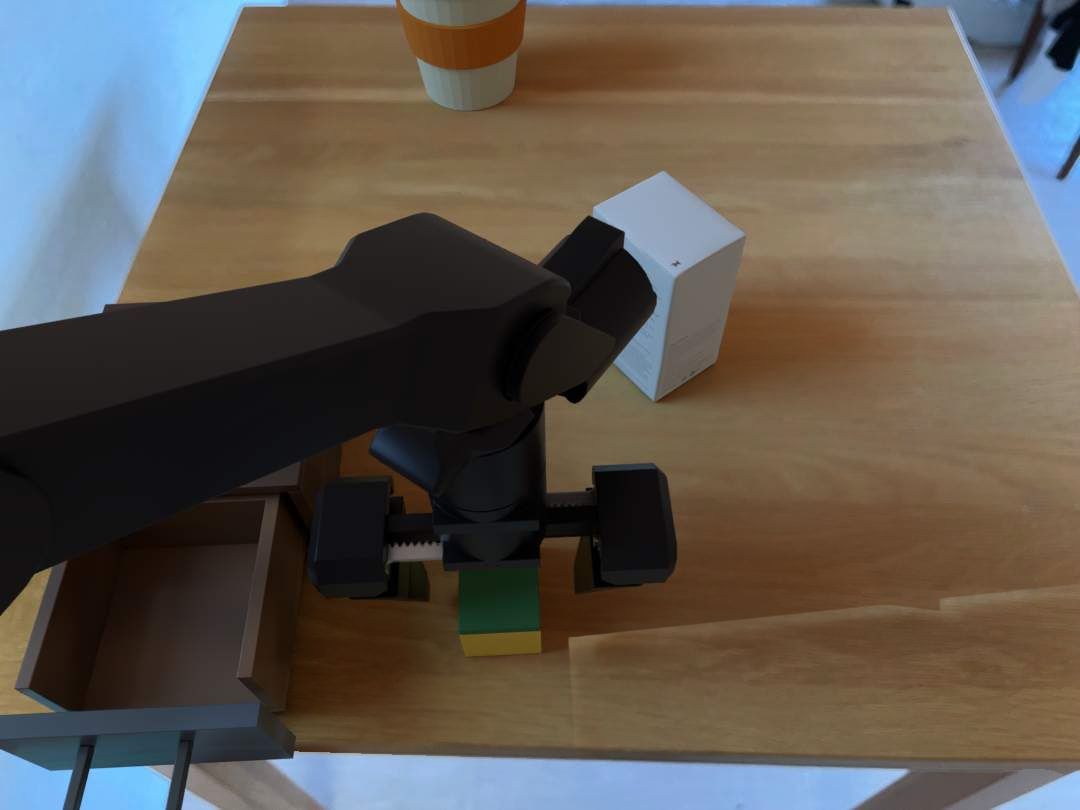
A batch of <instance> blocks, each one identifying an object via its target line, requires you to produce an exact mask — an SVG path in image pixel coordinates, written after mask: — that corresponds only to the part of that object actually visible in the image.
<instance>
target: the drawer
mask: <svg viewBox="0 0 1080 810" xmlns="http://www.w3.org/2000/svg"><path fill="white" fill-rule="evenodd" d="M306 543H307V534H306V532H305V531H304V528H303V527H302V525H301V523H300V521H299V519H298V517H297V516H296V514H295V512H294V510H293V508H292V507H291V505H290V503H289V501H288V499H287V497H286V496H285V494H284V492H276V493H255V494H234V495H220V496H217V497H215V498H213V499H210V500H208V501H206V502H203V503H201V504H199V505H196V506H194V507H192V508H189V509H187V510H185V511H182V512H180V513H177V514H175V515H173V516H170V517H168V518H166V519H163V520H161V521H159V522H156V523H154V524H152V525H149V526H147V527H145V528H142V529H140V530H138V531H135V532H133V533H130V534H128V535H126V536H123V537H121V538H119V539H116V540H114V541H112V542H109V543H107V544H105V545H102V546H100V547H98V548H95V549H93V550H91V551H88V552H86V553H84V554H81V555H79V556H76V557H74V558H72V559H69V560H67V561H65V562H62V563H60V564H58V565H55V566H53V567H51V569H50V572H49V576H48V579H47V582H46V585H45V588H44V592H43V595H42V598H41V600H40V605H39V607H38V610H37V614H36V617H35V620H34V624H33V627H32V629H31V632H30V636H29V640H28V643H27V646H26V648H25V652H24V655H23V657H22V658H23V659H22V661H21V664H20V667H19V668H20V669H19V671H18V674H17V677H16V681H15V684H14V687H13V689H14V690H15V691H17V692H19V693H20V694H22V695H24V696H26V697H28V698H30V699H32V700H33V701H34V702H37V703H39V704H40V705H42V706H44V707H46V708H48V709H50V710H51V712H34V713H33V712H32V713H15V714H14V713H13V714H0V750H1V751H4V752H5V753H8V754H10V755H13V756H15V757H17V758H20V759H22V760H23V761H26V762H28V763H31V764H32V765H36V766H38V767H40V768H42V769H45V770H46V771H50V772H55V771H72V772H71V775H70V778H69V782H68V787H67V790H66V794H65V798H64V802H63V806H62V809H61V810H81V806H82V803H83V798H84V794H85V790H86V786H87V782H88V778H89V774H90V770H95V769H96V770H97V769H98V770H99V769H116V768H135V767H155V766H173V769H172V774H171V778H170V783H169V789H168V794H167V798H166V799H167V800H166V805H165V810H182V809H183V804H184V799H185V794H186V793H185V792H186V787H187V782H188V777H189V772H190V765H191V764H192V765H194V764H195V765H197V764H214V763H232V762H233V763H234V762H252V761H253V762H255V761H274V760H293V759H294V755H295V748H296V740H297V736H296V735H295V734H294V733H293V732H292V731H291V730H290V729H289V728H288V727H287V726H286V725H285V724H284V723H283V722H282V721H281V720H280V719H279V718H277V716H275V714H274V713H275V712H285V711H286V706H287V698H288V691H289V684H290V683H289V682H290V675H291V668H292V659H293V652H294V645H295V635H296V629H297V619H298V613H299V606H300V605H299V604H300V598H301V589H302V582H303V581H302V580H303V575H304V567H305V558H306V552H307V551H306ZM52 711H53V712H52ZM273 712H274V713H273Z"/></svg>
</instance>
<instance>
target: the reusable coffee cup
mask: <svg viewBox="0 0 1080 810" xmlns="http://www.w3.org/2000/svg"><path fill="white" fill-rule="evenodd" d="M527 1H528V0H395V4H396V8H397V11H398V14H399V18H400V22H401V25H402V29H403V31H404V35H405V39H406V42H407V46H408V48H409V50H410V51H411V53H412V55H414V56H415V57H416V61H417V65H418V68H419V71H420V74H421V78H422V80H423V86H424V87H425V91H426V94H427V95H428V97H429V99H431V100H432V101H433V102H434V103H436V104H437V105H439V106H441V107H444V108H446V109H450V110H455V111H462V112H468V111H469V112H471V111H473V112H474V111H478V110H485V109H488V108H491V107H494V106H496V105H498V104H500V103H501V102H504V101H505V100H506V99H507V98H508V97H509V96H510V95H511V94H512V93H513V90H514V87H515V83H516V72H517V62H518V61H517V60H518V49H519V48H520V46H521V44H522V42H523V39H524V32H525V23H526V22H525V21H526V14H527V13H526V11H527V3H528V2H527Z"/></svg>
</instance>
